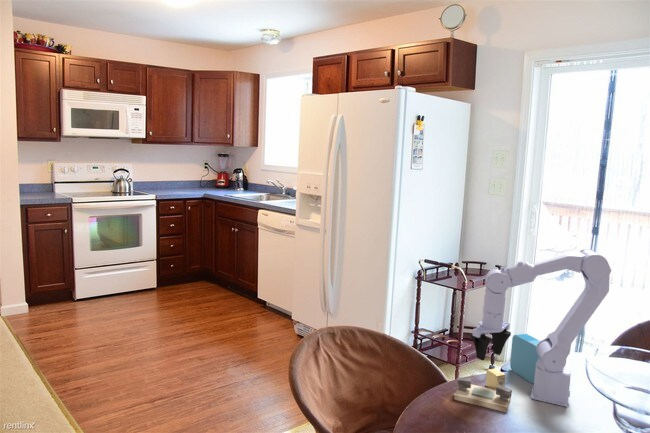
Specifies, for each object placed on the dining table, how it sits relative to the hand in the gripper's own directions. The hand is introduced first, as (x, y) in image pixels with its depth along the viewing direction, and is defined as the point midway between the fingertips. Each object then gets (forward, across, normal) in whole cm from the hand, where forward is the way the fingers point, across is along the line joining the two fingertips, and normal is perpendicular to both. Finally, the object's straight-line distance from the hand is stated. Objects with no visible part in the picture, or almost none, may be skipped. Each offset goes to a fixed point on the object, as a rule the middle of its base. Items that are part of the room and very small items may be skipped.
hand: (488, 356), depth 148 cm
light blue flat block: (+10, -19, +2) cm, 21 cm away
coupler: (+10, -3, +1) cm, 10 cm away
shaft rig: (+10, +6, +4) cm, 12 cm away
